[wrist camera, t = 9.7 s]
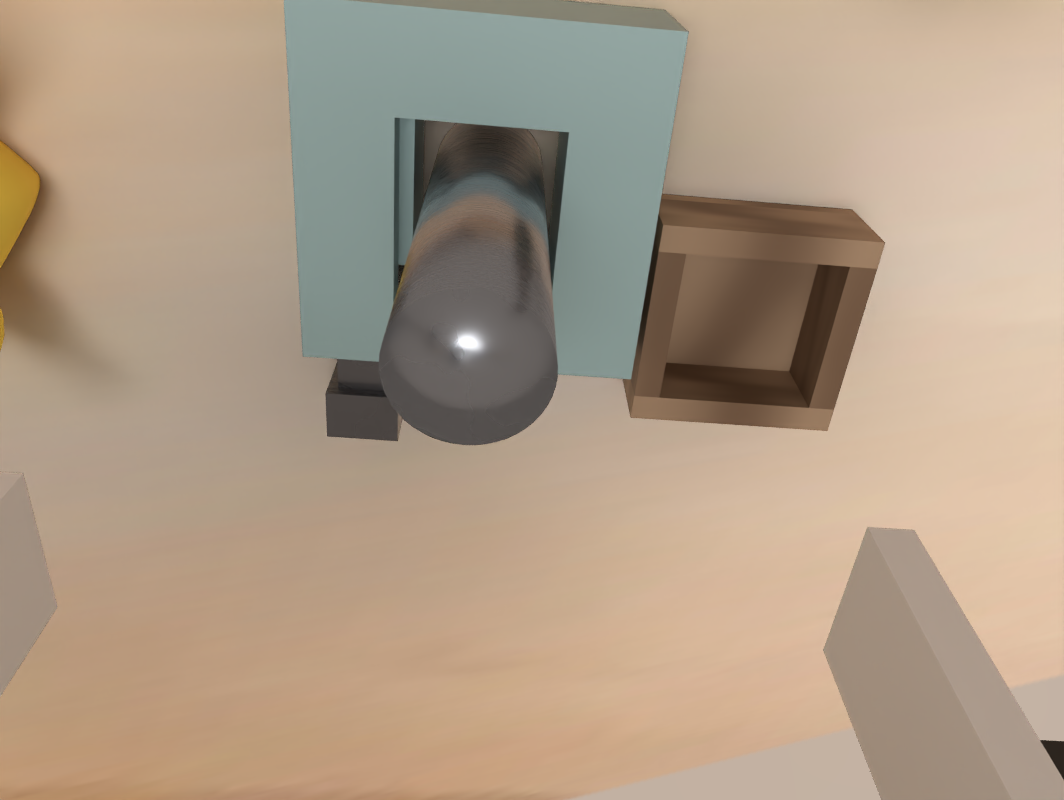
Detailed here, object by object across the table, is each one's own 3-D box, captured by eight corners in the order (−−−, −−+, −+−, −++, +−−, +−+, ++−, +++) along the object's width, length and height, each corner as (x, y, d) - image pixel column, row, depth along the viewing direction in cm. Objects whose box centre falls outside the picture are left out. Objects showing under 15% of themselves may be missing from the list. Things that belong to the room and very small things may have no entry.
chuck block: (328, 299, 36) (302, 356, 32) (317, -23, 30) (283, -6, 26) (618, 320, 37) (630, 379, 32) (665, 10, 31) (688, 31, 26)
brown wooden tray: (621, 373, 38) (630, 417, 35) (650, 193, 34) (663, 224, 31) (802, 386, 38) (827, 430, 35) (852, 209, 34) (885, 242, 31)
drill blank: (435, 213, 34) (378, 439, 21) (438, 108, 32) (378, 281, 18) (537, 221, 34) (548, 450, 21) (547, 117, 32) (567, 294, 19)
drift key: (342, 392, 38) (327, 436, 35) (336, 163, 33) (317, 192, 30) (407, 396, 38) (397, 441, 35) (410, 169, 33) (400, 198, 30)
